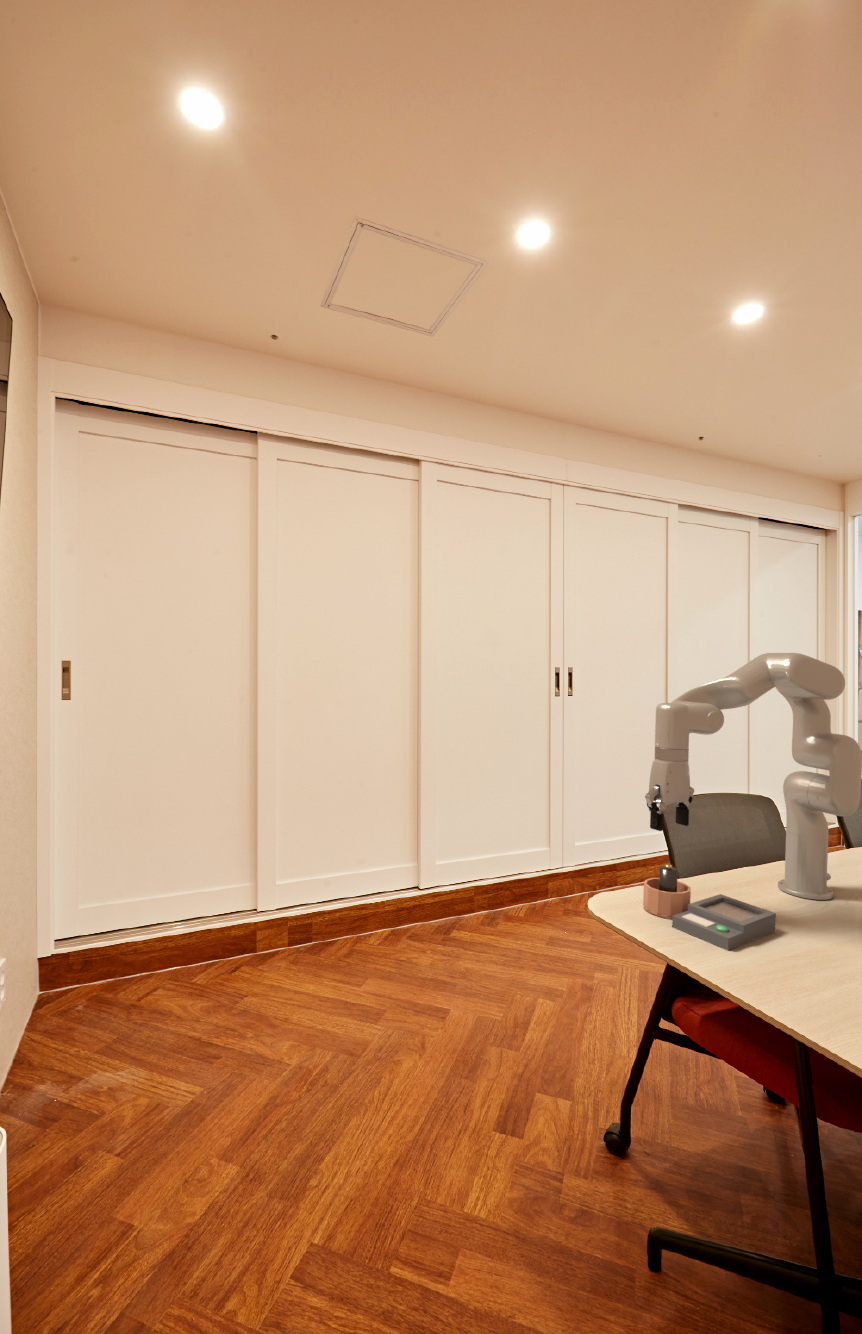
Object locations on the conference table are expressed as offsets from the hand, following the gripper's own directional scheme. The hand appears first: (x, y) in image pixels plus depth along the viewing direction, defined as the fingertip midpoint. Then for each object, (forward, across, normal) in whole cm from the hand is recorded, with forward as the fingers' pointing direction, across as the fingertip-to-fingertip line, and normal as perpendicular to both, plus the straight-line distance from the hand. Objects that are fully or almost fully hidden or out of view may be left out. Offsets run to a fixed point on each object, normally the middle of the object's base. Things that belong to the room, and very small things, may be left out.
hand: (669, 827), depth 146 cm
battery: (+19, 0, 0) cm, 19 cm away
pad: (+18, -5, +13) cm, 22 cm away
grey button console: (+20, -2, +13) cm, 24 cm away
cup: (+20, 0, 0) cm, 20 cm away
